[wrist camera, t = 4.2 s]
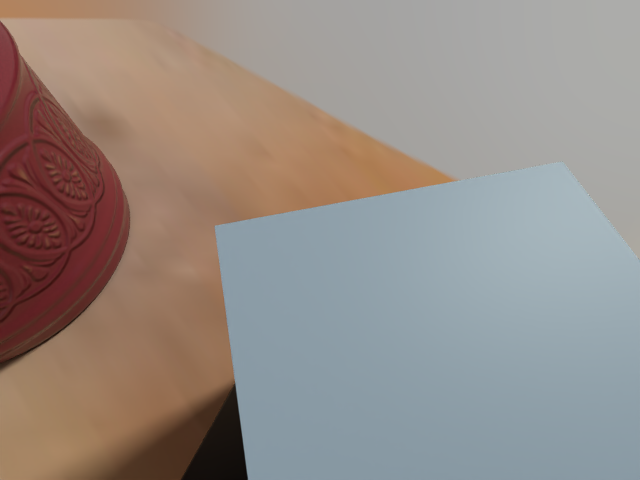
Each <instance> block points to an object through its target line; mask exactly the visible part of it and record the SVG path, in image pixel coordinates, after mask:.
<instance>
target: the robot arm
mask: <svg viewBox="0 0 640 480" xmlns="http://www.w3.org/2000/svg"><path fill="white" fill-rule="evenodd" d="M181 480H248V475H247V467H246V460H245V452H244V445H243V437H242V430H241V422H240V414H239V407H238V399H237V392H236V384H234V386H233V388H232V390H231V391H230V393H229V395H228V397H227V399H226V400H225V402H224V404H223V406H222V407H221V409H220V411H219V413H218V415H217V416H216V418H215V420H214V422H213V423H212V425H211V427H210V429H209V431H208V432H207V434H206V436H205V438H204V439H203V441H202V443H201V445H200V447H199V448H198V450H197V452H196V454H195V455H194V457H193V459H192V461H191V463H190V464H189V466H188V468H187V470H186V471H185V473H184V475H183V477H182V478H181Z"/></svg>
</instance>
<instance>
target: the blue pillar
mask: <svg viewBox="0 0 640 480" xmlns="http://www.w3.org/2000/svg"><path fill="white" fill-rule="evenodd" d="M215 233H216V240H217V248H218V255H219V263H220V270H221V278H222V286H223V293H224V301H225V308H226V316H227V324H228V331H229V339H230V346H231V354H232V361H233V369H234V377H235V384H236V392H237V399H238V407H239V414H240V422H241V430H242V437H243V445H244V452H245V460H246V467H247V475H248V480H640V260H639V259H638V258H637V256H636V255H635V254H634V252H633V251H632V250H631V249H630V247H629V246H628V245H627V243H626V242H625V241H624V239H623V238H622V237H621V236H620V234H619V233H618V232H617V230H616V229H615V228H614V227H613V225H612V224H611V223H610V222H609V221H608V219H607V218H606V216H605V215H604V214H603V213H602V211H601V210H600V209H599V207H598V206H597V205H596V204H595V202H594V201H593V200H592V199H591V197H590V196H589V195H588V193H587V192H586V191H585V190H584V188H583V187H582V186H581V185H580V183H579V182H578V181H577V180H576V178H575V177H574V176H573V174H572V173H571V172H570V170H569V169H568V168H567V167H566V165H565V164H564V163H563V162H557V163H553V164H547V165H542V166H536V167H530V168H525V169H520V170H514V171H509V172H503V173H498V174H492V175H488V176H482V177H476V178H471V179H466V180H460V181H455V182H449V183H444V184H438V185H433V186H428V187H422V188H417V189H411V190H406V191H401V192H395V193H390V194H384V195H379V196H374V197H368V198H363V199H357V200H352V201H347V202H341V203H336V204H330V205H325V206H320V207H314V208H309V209H303V210H298V211H292V212H287V213H282V214H276V215H271V216H265V217H260V218H255V219H249V220H244V221H238V222H233V223H228V224H222V225H217V226H215Z"/></svg>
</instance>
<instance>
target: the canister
mask: <svg viewBox="0 0 640 480" xmlns="http://www.w3.org/2000/svg"><path fill="white" fill-rule="evenodd" d="M129 229H130V211H129V205H128V201H127V198H126V195H125V193H124V191H123V189H122V185H121V182H120V180H119V177H118V175H117V173H116V171H115V169H114V168H113V166H112V165H111V164H110V162H109V161H108V160H107V159H106V157H105V156H104V154H103V153H102V151H101V150H100V149H99V148H98V147H97V146H96V145H95V144H94V143H93V142H92V141H91V140H89V139H88V138H87V137H85V136H84V135H83V134H82V132H81V131H80V130H79V128H78V127H77V126H76V125H75V123H74V122H73V121H72V120H71V118H70V117H69V116H68V114H67V113H66V112H65V111H64V109H63V108H62V107H61V106H60V104H59V103H58V102H57V100H56V99H55V98H54V97H53V95H52V94H51V93H50V92H49V90H48V89H47V88H46V86H45V85H44V84H43V83H42V81H41V80H40V79H39V77H38V76H37V75H36V74H35V72H34V71H33V70H32V69H31V67H30V66H29V65H28V63H27V62H26V61H25V60H24V58H23V57H22V56H21V55H20V53H19V50H18V46H17V44H16V42H15V40H14V38H13V36H12V35H11V33H10V32H9V30H8V29H7V28H6V27H5V25H4V24H3V23H2V22H1V21H0V363H2V362H4V361H7V360H9V359H11V358H14V357H16V356H18V355H20V354H22V353H24V352H26V351H28V350H30V349H31V348H33V347H35V346H37V345H39V344H40V343H42V342H43V341H45V340H47V339H48V338H50V337H51V336H53V335H54V334H55V333H57V332H58V331H60V330H61V329H62V328H64V327H65V326H66V325H67V324H69V323H70V322H71V321H72V320H73V319H75V318H76V317H77V316H78V315H79V314H80V313H81V312H82V311H83V310H84V309H85V308H86V307H87V306H88V305H89V304H90V303H91V302H92V301H93V300H94V299H95V298H96V297H97V295H98V294H99V293H100V292H101V290H102V289H103V288H104V286H105V285H106V284H107V282H108V281H109V279H110V278H111V276H112V275H113V273H114V271H115V270H116V268H117V266H118V264H119V262H120V260H121V257H122V255H123V253H124V250H125V247H126V244H127V240H128V235H129Z"/></svg>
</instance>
